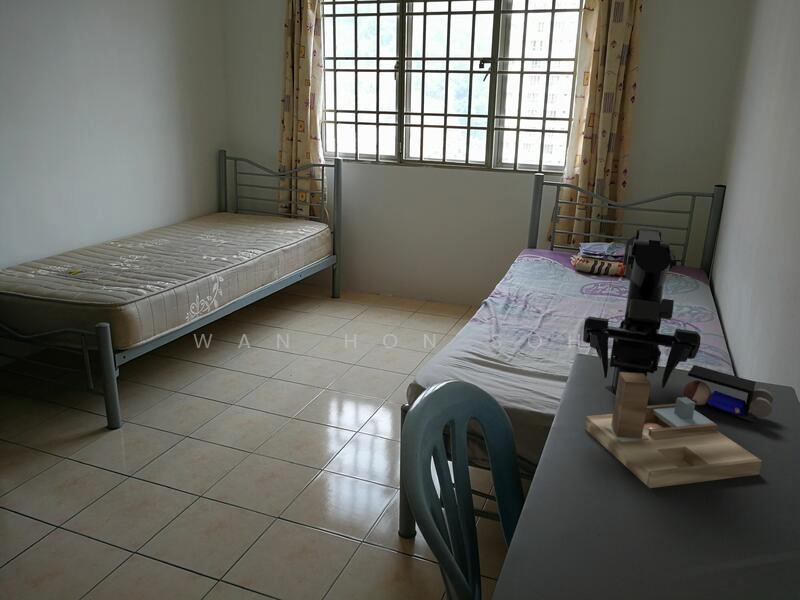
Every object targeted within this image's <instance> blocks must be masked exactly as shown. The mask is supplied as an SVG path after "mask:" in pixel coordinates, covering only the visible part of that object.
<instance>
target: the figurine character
mask: <svg viewBox="0 0 800 600" xmlns="http://www.w3.org/2000/svg"><path fill="white" fill-rule="evenodd" d="M687 377H692V378H694V379H697V380H691V381H689V382H688V383H687V384H686V385H685V386H684V388H683V397H687V398H689V399H690V400H692V401H693V402H695V406H704V405H706V404H708V405H709V406H710V407H713V408H717V409H719V410H722V411H724V412H728V413H730V414H734V415H736V416H737V417H738V418H740V419H743V420H745V421H749V422H751V423H756V422H757V421H756V420H754V419H752V418H750V417H753V416H757V417H759V418H767V417H768V416H770V414H771V413H772V410H773V405H772V404H773V402H774V396H773V394H772V393H771V392H770V391H769V390H767V389H765V388H757V389H755V386H756V383H757V382H756V381H754V380H750V379H748V378H744V377H739V376H737V375H732V374H729V373H725V372H722V371H717V370H714V369H711V368H707V367H702V366H700V365H696V364H693V366H692V367H691V368H690V370H689V371H688V374H687ZM704 381H705V382H708V383H711V384H715V385H719V386H723V387H726V388H728V389H731V390H732V389H733V390H735V391H740V392H743V393H747V397H746V400H743V399H741V398H739V397H735V396H732V395H729V394H726V393H723V392H721V391H718V390H714V391H711V388H710V387H709V385H708V384H707V383H705V382H704ZM750 415H751V416H750ZM747 416H750V417H747Z"/></svg>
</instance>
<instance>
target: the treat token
mask: <svg viewBox="0 0 800 600" xmlns="http://www.w3.org/2000/svg"><path fill="white" fill-rule="evenodd" d="M644 427H645V428H646V429H647V430H649V429H659V428H664V427H662V426H661V425H658V424H654V423H647V424H645V425H644Z"/></svg>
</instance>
